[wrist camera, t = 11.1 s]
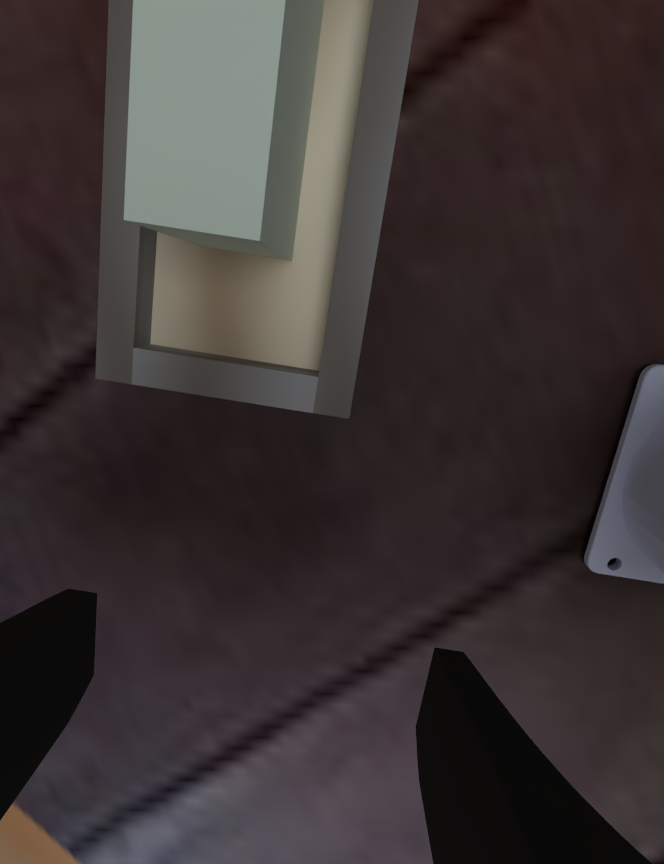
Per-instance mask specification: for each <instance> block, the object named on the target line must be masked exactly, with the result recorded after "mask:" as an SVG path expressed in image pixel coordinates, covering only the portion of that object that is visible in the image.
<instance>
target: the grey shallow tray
mask: <svg viewBox="0 0 664 864" xmlns="http://www.w3.org/2000/svg"><path fill="white" fill-rule="evenodd" d="M418 1H419V0H324V8H323V16H322V24H321V32H320V40H319V48H318V56H317V65H316V73H315V81H314V89H313V97H312V105H311V113H310V121H309V129H308V137H307V146H306V154H305V162H304V170H303V178H302V186H301V194H300V202H299V210H298V218H297V227H296V235H295V243H294V251H293V259H292V261H290V260H284V259H277V258H271V257H264V256H258V255H251V254H245V253H239V252H232V251H226V250H219V249H213V248H206V247H201V246H198V245H195V244H192V243H190V242H187V241H184V240H181V239H178V238H175V237H172V236H169V235H166V234H163V233H160V232H157V231H154V230H151V229H149V228H146V227H143V226H140V225H137V224H134V223H131V222H128V221H125V220H124V200H125V177H126V154H127V131H128V108H129V84H130V61H131V38H132V15H133V0H109V10H108V38H107V66H106V94H105V122H104V150H103V178H102V206H101V234H100V262H99V290H98V318H97V346H96V374H95V379H101V380H107V381H114V382H120V383H126V384H133V385H139V386H145V387H151V388H158V389H164V390H170V391H177V392H183V393H189V394H196V395H202V396H208V397H214V398H221V399H227V400H233V401H240V402H246V403H252V404H258V405H265V406H271V407H277V408H284V409H290V410H296V411H302V412H309V413H315V414H321V415H328V416H334V417H340V418H346V419H349V417H350V411H351V405H352V399H353V393H354V387H355V381H356V375H357V369H358V363H359V357H360V351H361V345H362V339H363V333H364V327H365V321H366V315H367V309H368V303H369V297H370V291H371V285H372V279H373V273H374V267H375V261H376V255H377V248H378V242H379V236H380V230H381V224H382V218H383V212H384V206H385V200H386V194H387V188H388V182H389V176H390V170H391V164H392V158H393V152H394V146H395V140H396V134H397V128H398V122H399V116H400V110H401V104H402V98H403V92H404V86H405V80H406V74H407V68H408V62H409V56H410V50H411V44H412V38H413V32H414V26H415V20H416V13H417V7H418Z"/></svg>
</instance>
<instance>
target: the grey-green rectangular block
mask: <svg viewBox="0 0 664 864" xmlns="http://www.w3.org/2000/svg"><path fill="white" fill-rule="evenodd" d="M323 8H324V0H133V15H132V38H131V61H130V84H129V108H128V131H127V154H126V177H125V200H124V220H125V221H128V222H131V223H134V224H137V225H140V226H143V227H146V228H149V229H151V230H154V231H157V232H160V233H163V234H166V235H169V236H172V237H175V238H178V239H181V240H184V241H187V242H190V243H192V244H195V245H198V246H201V247H206V248H213V249H219V250H226V251H232V252H239V253H245V254H251V255H258V256H264V257H271V258H277V259H284V260H290V261H292V259H293V251H294V243H295V235H296V227H297V218H298V210H299V202H300V194H301V186H302V178H303V170H304V162H305V154H306V146H307V137H308V129H309V121H310V113H311V105H312V97H313V89H314V81H315V73H316V65H317V56H318V48H319V40H320V32H321V24H322V16H323Z"/></svg>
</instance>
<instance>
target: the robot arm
mask: <svg viewBox="0 0 664 864" xmlns="http://www.w3.org/2000/svg"><path fill="white" fill-rule="evenodd" d="M612 558H617V560H616V562H615V563H614V564H612V565H607V564H608V562H609V560H610V559H612ZM584 562H585V564H586V565H587V567H588V568H589V569H590V570H591V571H592V572H595V573H599V574H605V575H611V576H618V577H624V578H630V579H637V580H643V581H649V582H655V583H662V584H664V365H661V364H652V365H650V366H647V367H646V368H645V369H644V370H643V371H642V372H641V374H640V376H639V379H638V383H637V386H636V389H635V392H634V396H633V399H632V402H631V405H630V409H629V412H628V415H627V418H626V422H625V425H624V428H623V431H622V435H621V438H620V441H619V444H618V448H617V451H616V454H615V458H614V461H613V464H612V467H611V471H610V474H609V477H608V480H607V484H606V487H605V490H604V493H603V497H602V500H601V503H600V506H599V510H598V513H597V516H596V519H595V523H594V526H593V529H592V532H591V536H590V539H589V542H588V545H587V549H586V552H585V555H584ZM96 606H97V593H92V592H85V591H79V590H73V589H67V590H65V591H63V592H60V593H58V594H56V595H54V596H52V597H50V598H48V599H46V600H44V601H42V602H40V603H38V604H36V605H34V606H32V607H31V608H29V609H27V610H25V611H23V612H21V613H19V614H17V615H15V616H13V617H11V618H9V619H7V620H5V621H3V622H1V623H0V820H1V819H2V817H3V816H4V814H5V813H6V811H7V810H8V809H9V807H10V806H11V804H12V803H13V801H14V800H15V799H16V797H17V796H18V794H19V793H20V791H21V790H22V789H23V787H24V786H25V784H26V783H27V781H28V780H29V779H30V777H31V776H32V774H33V773H34V771H35V770H36V769H37V767H38V766H39V764H40V763H41V761H42V760H43V759H44V757H45V756H46V754H47V753H48V751H49V750H50V748H51V747H52V746H53V744H54V743H55V741H56V740H57V738H58V737H59V735H60V734H61V732H62V731H63V729H64V728H65V727H66V725H67V724H68V722H69V720H70V718H71V717H72V715H73V713H74V711H75V709H76V708H77V706H78V704H79V702H80V700H81V698H82V696H83V695H84V693H85V691H86V689H87V687H88V685H89V683H90V681H91V679H92V677H93V675H94V655H95V630H96ZM416 739H417V757H418V771H419V782H420V788H421V794H422V800H423V806H424V812H425V818H426V824H427V829H428V835H429V841H430V846H431V852H432V858H433V863H434V864H652V863H651V862H650V861H648V860H647V859H646V858H645V857H644V856H643V855H642V854H640V853H639V852H638V851H637V850H636V849H635V848H634V847H633V846H632V845H631V844H630V843H629V842H628V841H626V840H625V839H624V838H623V837H622V836H621V835H620V834H619V833H618V832H617V831H616V830H615V829H614V828H613V827H612V826H611V825H610V824H609V823H608V822H607V821H606V820H605V819H604V818H603V817H602V816H601V815H600V814H599V813H598V812H597V811H596V810H595V809H594V808H593V807H592V806H591V805H590V804H589V803H588V802H587V801H586V800H585V799H584V798H583V797H582V796H581V795H580V794H579V793H578V792H577V791H576V790H575V789H574V788H573V787H572V786H571V785H570V783H569V782H568V781H567V780H566V779H565V778H564V777H563V776H562V775H561V773H560V772H559V771H558V770H557V769H556V768H555V767H554V766H553V764H552V763H551V762H550V761H549V760H548V759H547V758H546V756H545V755H544V754H543V753H542V752H541V751H540V750H539V748H538V747H537V746H536V745H535V744H534V742H533V741H532V740H531V739H530V738H529V737H528V735H527V734H526V733H525V732H524V730H523V729H522V728H521V727H520V725H519V724H518V723H517V722H516V720H515V719H514V718H513V717H512V715H511V714H510V713H509V712H508V710H507V709H506V708H505V706H504V705H503V704H502V703H501V701H500V700H499V699H498V697H497V696H496V695H495V693H494V692H493V691H492V689H491V688H490V687H489V685H488V684H487V683H486V681H485V680H484V679H483V677H482V676H481V675H480V673H479V672H478V671H477V669H476V668H475V667H474V665H473V664H472V663H471V661H470V660H469V659H468V657H467V656H466V655H465V653H464V652H459V651H453V650H447V649H441V648H434V653H433V657H432V661H431V665H430V669H429V674H428V678H427V682H426V686H425V691H424V695H423V699H422V703H421V707H420V712H419V716H418V720H417V724H416Z"/></svg>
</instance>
